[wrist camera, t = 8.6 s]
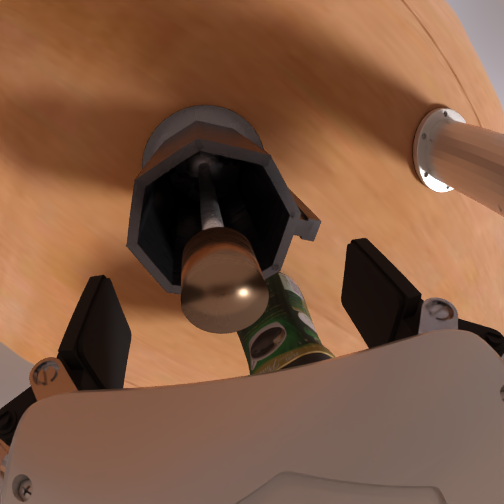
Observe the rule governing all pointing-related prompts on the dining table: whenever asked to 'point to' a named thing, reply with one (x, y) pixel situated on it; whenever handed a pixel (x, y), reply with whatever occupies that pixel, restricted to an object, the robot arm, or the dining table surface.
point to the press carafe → (231, 204)
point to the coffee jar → (282, 331)
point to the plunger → (217, 252)
